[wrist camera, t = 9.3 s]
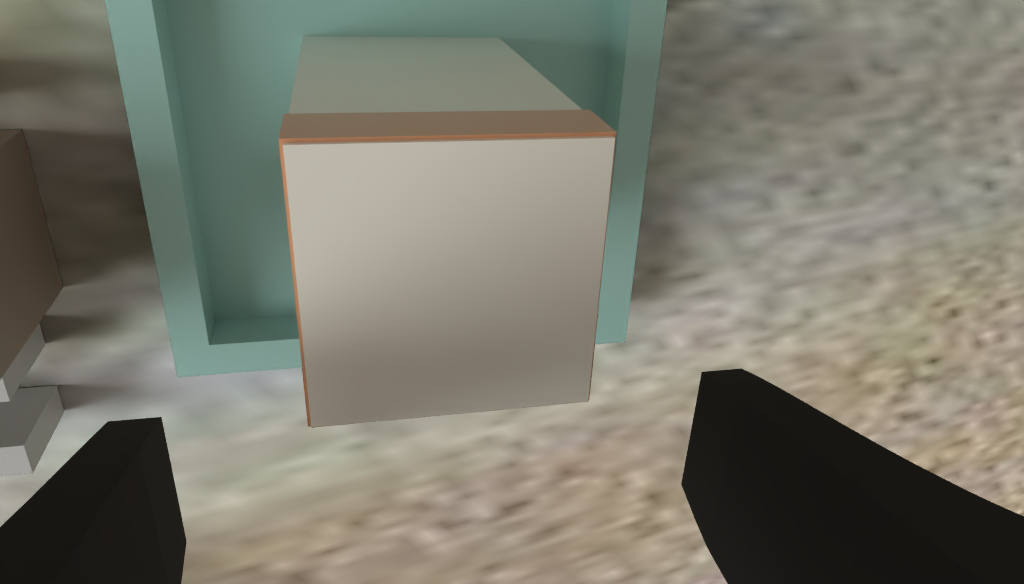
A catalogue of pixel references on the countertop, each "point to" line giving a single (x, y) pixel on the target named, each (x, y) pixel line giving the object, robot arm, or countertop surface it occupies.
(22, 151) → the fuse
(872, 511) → the robot arm
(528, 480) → the countertop surface
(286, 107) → the tray
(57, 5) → the countertop surface
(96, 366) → the countertop surface
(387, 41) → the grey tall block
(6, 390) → the clip block
